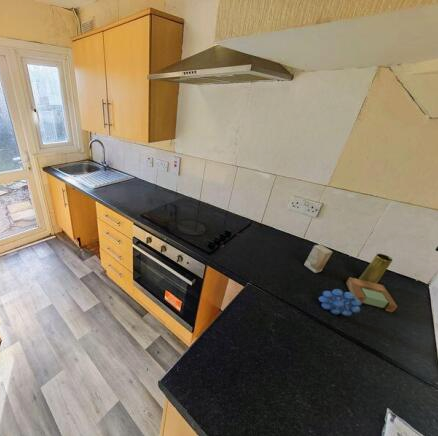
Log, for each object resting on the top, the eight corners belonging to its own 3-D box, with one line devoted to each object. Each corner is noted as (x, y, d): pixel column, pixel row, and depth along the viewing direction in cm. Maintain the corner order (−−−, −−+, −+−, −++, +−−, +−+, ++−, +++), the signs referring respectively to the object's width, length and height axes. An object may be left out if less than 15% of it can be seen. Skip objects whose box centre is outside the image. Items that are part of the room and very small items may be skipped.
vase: (374, 280, 104) (392, 256, 97) (377, 288, 99) (396, 263, 92) (357, 275, 107) (373, 251, 100) (360, 283, 102) (376, 258, 95)
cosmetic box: (303, 265, 112) (313, 245, 106) (309, 263, 113) (319, 243, 107) (315, 273, 107) (326, 253, 101) (322, 271, 108) (333, 251, 102)
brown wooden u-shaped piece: (378, 290, 98) (383, 285, 97) (392, 312, 89) (397, 306, 87) (345, 282, 102) (349, 276, 100) (355, 302, 92) (359, 296, 91)
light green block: (377, 299, 94) (382, 293, 93) (383, 308, 90) (388, 302, 88) (357, 293, 96) (361, 287, 95) (362, 302, 92) (366, 296, 91)
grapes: (352, 315, 87) (368, 293, 81) (350, 326, 83) (367, 304, 77) (317, 298, 94) (329, 276, 88) (313, 307, 90) (326, 286, 84)
